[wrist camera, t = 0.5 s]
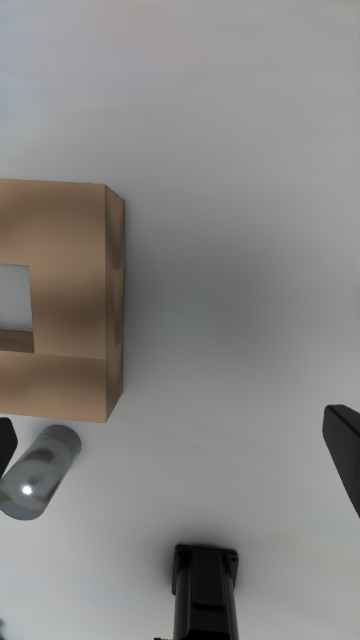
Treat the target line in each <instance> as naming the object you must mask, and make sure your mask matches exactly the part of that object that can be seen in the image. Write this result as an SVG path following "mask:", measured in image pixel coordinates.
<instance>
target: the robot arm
mask: <svg viewBox="0 0 360 640" xmlns="http://www.w3.org/2000/svg"><path fill="white" fill-rule="evenodd" d="M322 432H323V437H324V440H325V442H326V445H327V447H328V450H329V452H330V454H331V457H332V459H333V461H334V464H335V466H336V468H337V471H338V473H339V476H340V478H341V480H342V483H343V485H344V487H345V490H346V492H347V494H348V496H349V498H350V500H351V502H352V504H353V506H354V508H355V510H356V512H357V514H358V516H359V518H360V413H358V412H356V411H354V410H352V409H351V408H349V407H347V406H345V405H342V404H337V405H327V406H326V407H325V410H324V419H323V428H322ZM17 444H18V439H17V436H16V433H15V430H14V428H13V425H12V422H11V420H10V419H9V418H7V417H1V418H0V480H1V478H2V476H3V474H4V472H5V470H6V468H7V466H8V464H9V462H10V460H11V458H12V456H13V454H14V452H15V450H16V448H17ZM238 561H239V559H238V554H237V553H236V552H234V551H226V550H217V549H208V548H199V547H190V546H181V545H178V546H176V547H175V555H174V569H173V582H172V594H173V595H175V596H176V598H175V615H174V632H173V640H239V635H238V626H237V617H236V609H235V600H234V587H235V581H236V574H237V567H238ZM154 640H166V639H161V638H154Z"/></svg>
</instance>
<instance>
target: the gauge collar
mask: <svg viewBox="0 0 360 640" xmlns="http://www.w3.org/2000/svg"><path fill="white" fill-rule="evenodd" d="M124 239H125V200H123V199H122V198H121V197H120V196H118V195H117V194H116V193H115V192H114V191H112V190H111V189H110V188H109V187H107V186H106V185H105V184H91V183H72V182H53V181H34V180H15V179H0V264H15V265H28V267H29V281H30V295H31V308H32V322H33V332H23V331H10V330H0V413H2V414H13V415H24V416H35V417H45V418H56V419H67V420H78V421H88V422H99V423H106V422H107V420H108V418H109V416H110V415H111V413H112V411H113V409H114V407H115V405H116V404H117V402H118V400H119V398H120V396H121V394H122V393H123V323H124Z"/></svg>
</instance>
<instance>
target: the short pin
mask: <svg viewBox="0 0 360 640" xmlns="http://www.w3.org/2000/svg"><path fill="white" fill-rule="evenodd" d="M80 450H81V441H80V439H79V437H78V435H77V434H76V433H75V432H74V431H73V430H72V429H70V428H69V427H66V426H63V425H52V426H50V427H48V428H46V429H45V430H44V431H43V432H42V433H41V435H40V436H39V437H38V438H37V439H36V440H35V441H34V442H33V444H32V445H31V446H30V447H29V448H28V449H27V450H26V452H25V453H24V454H23V455H22V456H21V457H20V458H19V459H18V461H17V462H16V463H15V464H14V465H13V466H12V467H11V468H10V470H9V471H8V472H7V473H6V474H5V475H4V476H3V478H2V479H1V480H0V510H1V511H3V512H4V513H5V514H6V515H8V516H10V517H12V518H14V519H18V520H33V519H35V518H38V517H39V516H40V515H41V514H42V513H43V512H44V510H45V509H46V507H47V505H48V504H49V502H50V500H51V499H52V497H53V495H54V494H55V492H56V490H57V489H58V487H59V485H60V484H61V482H62V480H63V479H64V477H65V475H66V474H67V472H68V470H69V469H70V467H71V465H72V464H73V462H74V460H75V459H76V457H77V455H78V454H79V452H80Z"/></svg>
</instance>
